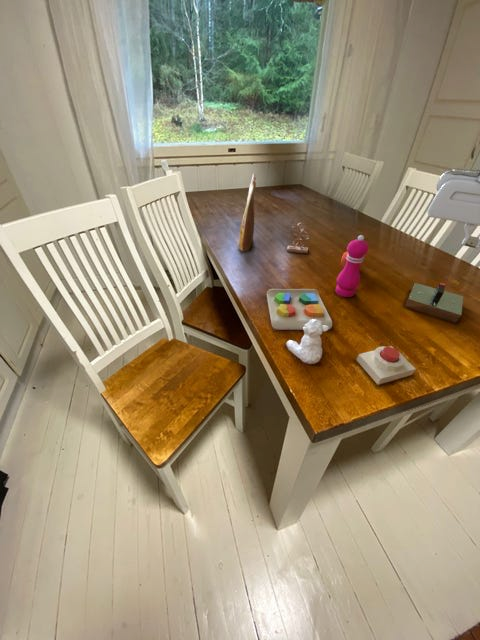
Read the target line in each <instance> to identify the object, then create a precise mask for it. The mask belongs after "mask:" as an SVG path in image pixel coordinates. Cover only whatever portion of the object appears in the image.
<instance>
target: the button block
mask: <svg viewBox="0 0 480 640" xmlns="http://www.w3.org/2000/svg"><path fill="white" fill-rule="evenodd" d="M385 347H386V346H385V345H384V346H383V345H382V346H379V347H376V348H375V350H370V351H366V352H362V353H359V354H358V355H357V358H356V362H357V363H358V364H359V365H360V366H361V367H362V369H364V371H365V372H366V373H367V374H368V375H369V376H370V378H371V379H372V380H373V381H374V382H375V384H376V385H378V386H379V385H383V384H386V383H389V382H393V381H396V380H399V379H402V378H406V377H410V376H412V375H413V374H414V373H415V371H416V370H417V368H416V367H415V366H414V365H413V364H412V363H410V362H409V360H407V359H406V358H405V357H404V355H403V354H402V353H401V352H400V351H399V350H397V351H398V352H399V353H400V356H399V358H398V360H397V361H396V362H394V363H391V362H387V361H385V360H384V359H383V358H382V357H381V353H382V351H383V349H384V348H385ZM389 347H392V348H394V347H393V346H392V345H390V346H389Z"/></svg>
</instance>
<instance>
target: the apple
mask: <svg viewBox="0 0 480 640" xmlns="http://www.w3.org/2000/svg"><path fill="white" fill-rule="evenodd" d="M347 254H348V251H347V250H346V251H345V252H344V253H343V254H342V255H341V259H340V263H341V266H342V268H344V267H345V266H346V263H347V259H346V257H347ZM364 261H365V258H364V259H363V262H361V264H360V267H359V269H360V268H362V266H363V264H364Z"/></svg>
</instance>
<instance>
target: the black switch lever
mask: <svg viewBox="0 0 480 640" xmlns="http://www.w3.org/2000/svg"><path fill="white" fill-rule="evenodd" d="M445 288H446V283H443V282H439V283H438V285H437V287H436V288H435V289H436V291H435V293H434V297H433V301H434V302H439V301H440V299H441V297H442V295H443V294H444V291H445Z"/></svg>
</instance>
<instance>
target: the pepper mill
mask: <svg viewBox="0 0 480 640" xmlns="http://www.w3.org/2000/svg"><path fill="white" fill-rule="evenodd" d="M364 239H365V236H364V235H362V234H360V235H358V236H357V239H353V240H352V241H350V242H349V243H348V244H347V248H346V252H347V251H348V254H347V257H346V259H347V263H346V266H345V267H343V269H342V270H341V271H340V272H339V274H338V275H337V277H336V286H335V293H336V294H337V295H339V296H340V297H345V298H351V297H353V296H355V293H356V290H357V289H356V288H358V287H359V286H360V283H361V275H360V268H361V267H360V264H361V262H363V259H364V260H365V256H366V255H367V254H368V252H369V249H370V248H369V247H370V246H369V243H368V242H367V241H366V240H364ZM363 263H364V262H363ZM359 267H360V268H359Z"/></svg>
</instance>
